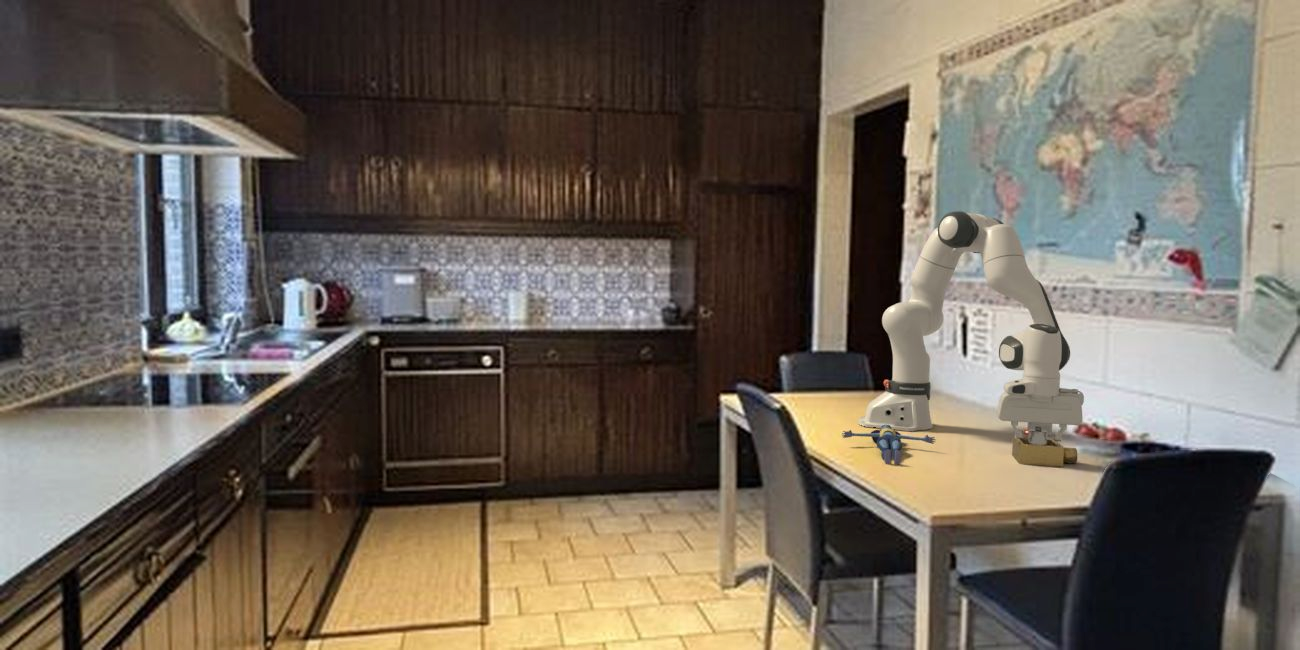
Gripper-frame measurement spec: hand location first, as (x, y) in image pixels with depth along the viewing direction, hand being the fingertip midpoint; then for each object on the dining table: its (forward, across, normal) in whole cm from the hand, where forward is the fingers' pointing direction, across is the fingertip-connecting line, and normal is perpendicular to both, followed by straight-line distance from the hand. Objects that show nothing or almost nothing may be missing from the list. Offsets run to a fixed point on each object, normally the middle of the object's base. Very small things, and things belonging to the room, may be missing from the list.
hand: (1037, 439), depth 224 cm
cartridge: (+6, 0, 0) cm, 6 cm away
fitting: (+6, -2, -2) cm, 6 cm away
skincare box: (+6, -8, -39) cm, 40 cm away
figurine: (+6, +37, +2) cm, 38 cm away
